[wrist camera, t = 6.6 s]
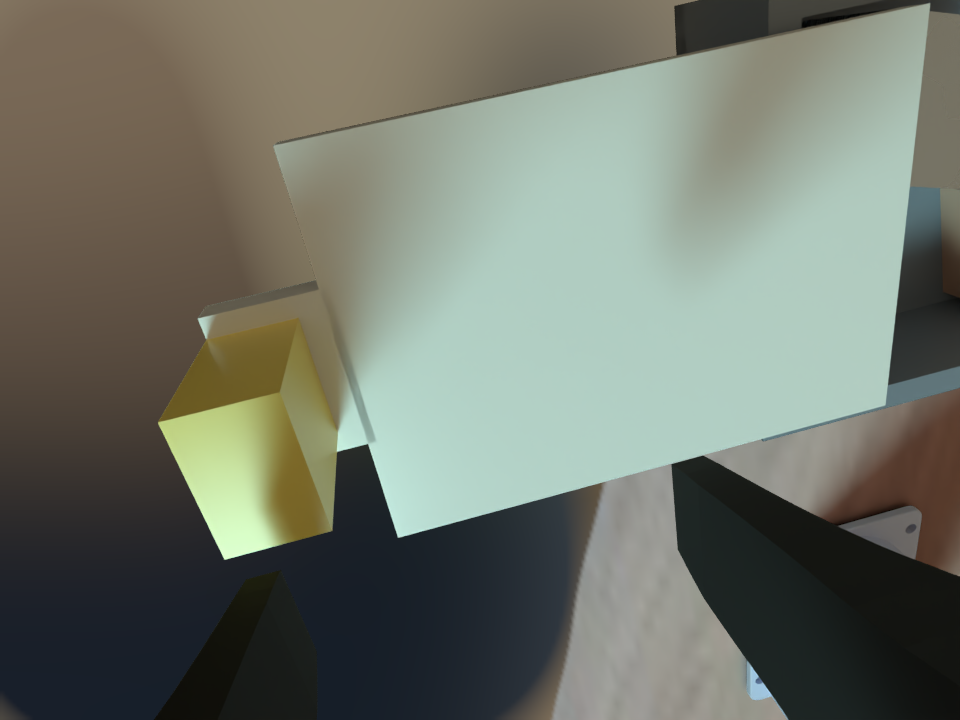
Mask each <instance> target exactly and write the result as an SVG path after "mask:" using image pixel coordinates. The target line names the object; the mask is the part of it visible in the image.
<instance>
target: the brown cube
mask: <svg viewBox="0 0 960 720" xmlns="http://www.w3.org/2000/svg"><path fill="white" fill-rule="evenodd" d="M887 10H890V9H887ZM881 11H885V10H880V11H872V12H865V13H857V14H850V15H842V16H835V17H828V18H820V19H813V20H805V21H804V25H803V28H807V27H811V26H816V25H821V24H825V23H830V22H834V21H839V20H844V19H848V18H853V17H858V16H862V15H867V14H871V13H876V12H881ZM910 187H928V188H946V189H960V15H959V14H950V13H942V12H933V11H929V20H928V29H927V38H926V47H925V56H924V65H923V73H922V82H921V91H920V100H919V109H918V118H917V127H916V136H915V145H914V154H913V163H912V172H911V181H910Z"/></svg>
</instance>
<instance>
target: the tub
mask: <svg viewBox="0 0 960 720" xmlns="http://www.w3.org/2000/svg"><path fill="white" fill-rule="evenodd" d="M928 3H930V11H933V12H942V13H950V14H959V15H960V0H698V1H695V2H690V3H686V4H682V5H678V6H675V30H676V50H677V55H682V54H687V53H691V52H696V51H701V50H705V49H710V48H714V47H719V46H724V45H728V44H733V43H737V42H742V41H747V40H751V39H756V38H761V37H765V36H770V35H774V34H779V33H784V32H788V31H793V30H798V29H802V28H803V25H804V21H805V20H813V19H820V18H828V17H835V16H842V15H850V14H857V13H865V12H872V11H880V10H887V9H894V8H899V7H905V6H913V5H920V4H928ZM958 388H960V298H959V297H956V296H953V295H950V294H947V293H945V292H943V274H942V238H941V203H940V188H928V187H910V190H909V199H908V208H907V217H906V226H905V235H904V244H903V253H902V262H901V271H900V280H899V289H898V298H897V306H896V315H895V324H894V333H893V342H892V351H891V360H890V369H889V378H888V387H887V396H886V405H885V406H882V407H878V408H874V409H871V410H867V411H863V412H859V413H856V414H852V415H848V416H845V417H841V418H837V419H834V420H830V421H826V422H823V423H819V424H815V425H812V426H808V427H804V428H801V429H797V430H793V431H789V432H786V433H782V434H778V435H775V436H771V437H767V438H764V439H761V440H762V441H767V440H770V439H774V438H778V437H781V436H785V435H789V434H792V433H796V432H800V431H803V430H807V429H811V428H814V427H818V426H822V425H825V424H829V423H833V422H836V421H840V420H844V419H847V418H851V417H855V416H859V415H862V414H866V413H870V412H873V411H877V410H881V409H884V408H888V407H892V406H895V405H899V404H903V403H906V402H910V401H914V400H917V399H921V398H925V397H928V396H932V395H936V394H939V393H943V392H947V391H951V390H954V389H958Z"/></svg>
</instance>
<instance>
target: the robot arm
mask: <svg viewBox="0 0 960 720" xmlns="http://www.w3.org/2000/svg"><path fill="white" fill-rule="evenodd" d="M672 478H673V491H674V504H675V517H676V531H677V544H678V551H679V552H680V554H681V556H682V558H683V560H684V562H685V564H686V566H687V568H688V570H689V572H690V574H691V575H692V577H693V579H694V581H695V583H696V585H697V586H698V588H699V590H700V592H701V594H702V595H703V597H704V599H705V600H706V602H707V603H708V605H709V606H710V608H711V609H712V611H713V612H714V614H715V615H716V617H717V618H718V619H719V621H720V622H721V624H722V625H723V627H724V628H725V629H726V631H727V632H728V634H729V635H730V637H731V638H732V639H733V641H734V642H735V644H736V645H737V647H738V648H739V649H740V651H741V652H742V654H743V655H744V656H745V658H746V659H747V692H748V694H749V696H750V697H751V698H752V699H753V700H761V699H764V698H767V697H771V696H772V697H773V699H774V700H775V702H776V703H777V705H778V706H779V708H780V709H781V711H782V712H783V714H784V715H785V717H786V718H787V720H960V576H957V575H954V574H951V573H948V572H946V571H943V570H941V569H938V568H935V567H933V566H930V565H928V564H925V563H922V562H920V561H917V560H915V558H916V552H917V545H918V539H919V532H920V526H921V519H922V513H921V512H920V511H919V510H918V509H917V508H915V507H914V506H906V507H902V508H899V509H895V510H892V511H888V512H885V513H881V514H878V515H874V516H871V517H867V518H864V519H860V520H857V521H853V522H850V523H846V524H843V525H839V526H836V525H834V524H832V523H830V522H828V521H826V520H824V519H822V518H820V517H817V516H815V515H813V514H811V513H809V512H807V511H806V510H804V509H802V508H800V507H798V506H796V505H794V504H792V503H790V502H788V501H786V500H784V499H782V498H780V497H779V496H777V495H775V494H773V493H771V492H769V491H767V490H766V489H764V488H762V487H760V486H758V485H756V484H755V483H753V482H751V481H749V480H747V479H745V478H744V477H742V476H740V475H738V474H736V473H734V472H733V471H731V470H729V469H727V468H725V467H724V466H722V465H720V464H718V463H716V462H714V461H712V460H711V459H709V458H707V457H705V456H700V457H696V458H693V459H689V460H685V461H682V462H678V463H674V464H672ZM316 719H317V651H316V649H315V647H314V644H313V642H312V640H311V638H310V635H309V633H308V631H307V628H306V626H305V624H304V622H303V619H302V617H301V615H300V613H299V611H298V608H297V606H296V604H295V601H294V599H293V597H292V595H291V592H290V590H289V588H288V586H287V583H286V581H285V579H284V577H283V574H282V572H281V570H280V571H276V572H272V573H269V574H265V575H261V576H258V577H254V578H250V579H246V581H245V582H244V584H243V585H242V587H241V588H240V590H239V591H238V593H237V594H236V596H235V597H234V599H233V600H232V602H231V604H230V605H229V607H228V608H227V610H226V612H225V613H224V615H223V616H222V618H221V619H220V621H219V623H218V624H217V626H216V627H215V629H214V631H213V632H212V634H211V635H210V637H209V638H208V640H207V642H206V643H205V645H204V647H203V648H202V650H201V651H200V653H199V654H198V656H197V657H196V659H195V660H194V662H193V663H192V665H191V666H190V668H189V669H188V671H187V672H186V674H185V675H184V677H183V679H182V680H181V682H180V683H179V685H178V686H177V688H176V689H175V691H174V693H173V694H172V695H171V697H170V698H169V699H168V701H167V702H166V704H165V705H164V706H163V708H162V710H161V711H160V712H159V713H158V715H157V716H156V718H155V719H154V720H316Z"/></svg>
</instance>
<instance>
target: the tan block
mask: <svg viewBox="0 0 960 720" xmlns="http://www.w3.org/2000/svg"><path fill="white" fill-rule="evenodd" d="M940 203H941V238H942V274H943V292H945V293H947V294H950V295H953V296H956V297H959V298H960V189H946V188H940Z"/></svg>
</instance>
